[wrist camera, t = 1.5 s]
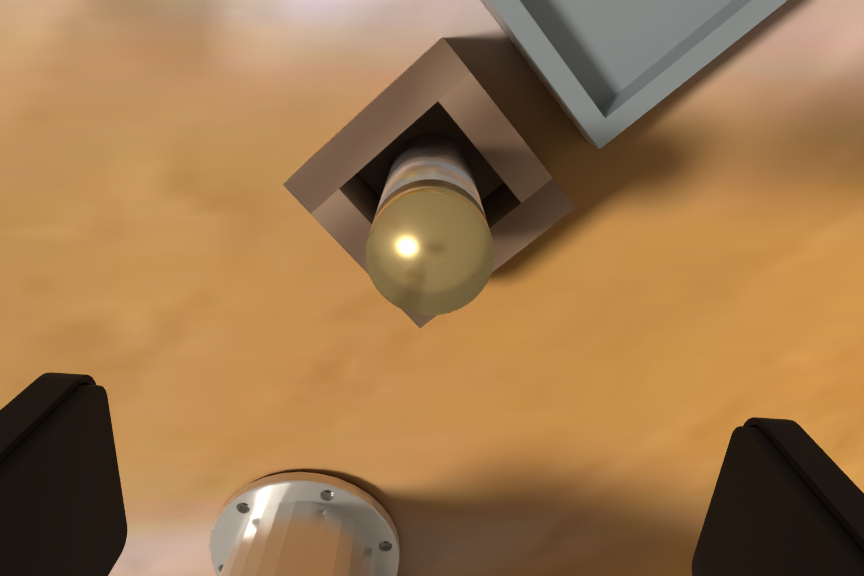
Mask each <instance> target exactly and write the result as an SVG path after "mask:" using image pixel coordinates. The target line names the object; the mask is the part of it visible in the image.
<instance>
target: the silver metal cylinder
mask: <svg viewBox="0 0 864 576" xmlns="http://www.w3.org/2000/svg"><path fill="white" fill-rule="evenodd" d="M366 264H367V269H368V272H369V275H370V278H371V280H372V282H373V284H374V285H375V287H376V288H377V290H378V291H379V292H380V293H381V294H382V296H384V297H385V298H386V299H387V300H388V301H389V302H391V303H392V304H393V305H395V306H397V307H399V308H401V309H403V310H405V311H408V312H411V313H415V314H420V315H441V314H445V313H450V312H452V311H455V310H458V309H459V308H461V307H463V306H465V305H467V304H468V303H470V302H471V301H472V300H473V299H474V298H476V297H477V296H478V294H479V293H480V292H481V291H482V290H483V288H484V287H485V285H486V284H487V282H488V280H489V278H490V275H491V272H492V269H493V264H494V244H493V240H492V236H491V233H490V229H489V226H488V223H487V220H486V216H485V213H484V210H483V207H482V203H481V200H480V197H479V193H478V190H477V187H476V184H475V180H474V177H473V174H472V171H471V167H470V164H469V161H468V158H467V156H466V154H465V152H464V150H463V149H462V148H461V146H460V145H459V144H458V143H457V142H455V141H454V140H453V139H451V138H450V137H447V136H445V135H442V134H438V133H423V134H419V135H416V136H414V137H412V138H410V139H409V140H407V141H406V142H405V143H404V144H403V145H402V146H401V147H400V148H399V150H398V151H397V153H396V155H395V157H394V160H393V163H392V166H391V169H390V172H389V175H388V178H387V181H386V184H385V187H384V190H383V193H382V196H381V199H380V202H379V205H378V208H377V211H376V214H375V217H374V221H373V224H372V227H371V230H370V233H369V236H368V240H367V244H366Z"/></svg>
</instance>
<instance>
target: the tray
mask: <svg viewBox="0 0 864 576" xmlns="http://www.w3.org/2000/svg"><path fill="white" fill-rule="evenodd" d="M481 1H482V3H483V4H484V5H485V7H486V8H487V9H488V11H489V12H490V13H491V15H492V16H493V18H494V19H495V20H496V22H497V23H498V24H499V26H500V27H501V28H502V30H503V31H504V32H505V34H506V35H507V36H508V38H509V39H510V40H511V42H512V43H513V44H514V46H515V47H516V48H517V50H518V51H519V52H520V54H521V55H522V56H523V58H524V59H525V60H526V62H527V63H528V65H529V66H530V67H531V69H532V70H533V71H534V73H535V74H536V75H537V77H538V78H539V79H540V81H541V82H542V83H543V85H544V86H545V87H546V89H547V90H548V91H549V93H550V94H551V95H552V97H553V98H554V99H555V101H556V102H557V103H558V105H559V106H560V107H561V109H562V110H563V111H564V113H565V114H566V116H567V117H568V118H569V120H570V121H571V122H572V124H573V125H574V126H575V128H576V129H577V130H578V132H579V133H580V134H581V136H582V137H583V138H584V140H586V141H587V142H589V143H590V144H592V145H593V146H595V147H596V148H598V149H601V148H602V147H603V146H605V145H606V144H607V143H608V142H610V141H611V140H612V139H614V138H615V137H616V136H617V135H619V134H620V133H621V132H622V131H624V130H625V129H626V128H627V127H629V126H630V125H631V124H632V123H634V122H635V121H636V120H637V119H639V118H640V117H641V116H642V115H644V114H645V113H646V112H648V111H649V110H650V109H651V108H653V107H654V106H655V105H656V104H658V103H659V102H660V101H661V100H663V99H664V98H665V97H666V96H668V95H669V94H670V93H671V92H673V91H674V90H675V89H677V88H678V87H679V86H680V85H682V84H683V83H684V82H685V81H687V80H688V79H689V78H690V77H692V76H693V75H694V74H695V73H697V72H698V71H699V70H700V69H702V68H703V67H704V66H705V65H707V64H708V63H709V62H711V61H712V60H713V59H714V58H716V57H717V56H718V55H719V54H721V53H722V52H723V51H724V50H726V49H727V48H728V47H729V46H731V45H732V44H733V43H734V42H736V41H737V40H738V39H740V38H741V37H742V36H743V35H745V34H746V33H747V32H748V31H750V30H751V29H752V28H753V27H755V26H756V25H757V24H758V23H760V22H761V21H762V20H763V19H765V18H766V17H767V16H769V15H770V14H771V13H772V12H774V11H775V10H776V9H777V8H779V7H780V6H781V5H782V4H784V3H785V2H786V1H787V0H481Z"/></svg>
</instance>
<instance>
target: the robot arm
mask: <svg viewBox="0 0 864 576" xmlns="http://www.w3.org/2000/svg"><path fill="white" fill-rule="evenodd" d="M126 538H127V522H126V516H125V509H124V503H123V496H122V489H121V483H120V476H119V470H118V463H117V457H116V450H115V444H114V437H113V431H112V424H111V417H110V411H109V404H108V398H107V393H106V390H105V389H104V387H102V386H97V385H96V383H95V381H94V379H93V378H92V377H91V376H89V375H82V374H66V373H45V374H43V375H41V376H40V377H38V378H37V379H36V380H35V381H34V382H33V383H32V384H30V385H29V386H28V387H27V388H26V389H25V390H23V391H22V392H21V393H20V394H19V395H18V396H16V397H15V398H14V399H13V400H12V401H11V402H9V403H8V404H7V405H6V406H5V407H4V408H2V409H1V410H0V576H108V575H109V573H110V571H111V570H112V568H113V566H114V565H115V563H116V561H117V560H118V558H119V556H120V555H121V553H122V551H123V548H124V545H125V542H126ZM209 549H210V558H211V562H212V565H213V568H214V571H215V573H216V575H217V576H396V575H397V571H398V565H399V555H400V543H399V538H398V533H397V530H396V528H395V525H394V523H393V521H392V519H391V517H390V516H389V515H388V513H387V512H386V511H385V509H384V508H383V507H382V505H381V504H380V503H378V502H377V501H376V500H375V499H374V498H373V497H372V496H371V495H370V494H368V493H367V492H365V491H363V490H362V489H360V488H358V487H357V486H355V485H353V484H351V483H348V482H346V481H344V480H341V479H339V478H336V477H332V476H327V475H323V474H319V473H308V472H292V473H280V474H276V475H272V476H268V477H264V478H262V479H259V480H257V481H255V482H252V483H250V484H248V485H246V486H245V487H244V488H242V489H241V490H239V491H238V492H236V493H235V494H234V495H233V496H232V497H231V498H230V499H229V500H228V501H227V502H226V503H225V505H224V506H223V508H222V510H221V512H220V513H219V515H218V517H217V519H216V522H215V524H214V527H213V529H212V531H211V537H210V544H209ZM692 576H864V493H863V492H862V491H861V490H860V489H859V488H858V487H857V486H856V485H855V484H854V483H853V482H852V481H851V480H850V479H849V477H848V476H847V475H846V474H845V473H844V472H843V471H842V470H841V469H840V468H839V467H838V466H837V465H836V464H835V463H834V462H833V461H832V459H831V458H830V457H829V456H828V455H827V454H826V453H825V452H824V451H823V450H822V449H821V448H820V447H819V446H818V445H817V444H816V443H815V441H814V440H813V439H812V438H811V437H810V436H809V435H808V434H807V433H806V432H805V431H804V430H803V429H802V428H801V427H800V426H799V425H798V424H797V423H796V422H794V421H792V420H785V419H770V418H754V417H753V418H750V419H748V420H747V421H746V422H745V423H744V426H740V427H737V428H736V429H735V430H734V431H733V433H732V436H731V439H730V442H729V445H728V448H727V452H726V455H725V458H724V461H723V464H722V468H721V471H720V474H719V477H718V480H717V483H716V487H715V490H714V493H713V496H712V499H711V502H710V506H709V509H708V512H707V515H706V518H705V522H704V525H703V528H702V531H701V534H700V537H699V541H698V544H697V547H696V550H695V553H694V557H693V561H692Z"/></svg>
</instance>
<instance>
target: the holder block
mask: <svg viewBox="0 0 864 576" xmlns="http://www.w3.org/2000/svg"><path fill="white" fill-rule="evenodd" d="M423 133H438V134H442V135H445V136H447V137H450V138H451V139H453V140H454V141H455V142H457V143H458V144H459V145H460V146H461V148H462V149H463V150H464V152H465V154H466V156H467V158H468V161H469V164H470V167H471V171H472V174H473V177H474V180H475V184H476V187H477V190H478V193H479V197H480V200H481V203H482V207H483V210H484V213H485V216H486V220H487V223H488V226H489V229H490V233H491V236H492V240H493V244H494V264H493V269H492V272H493V271H495V270H496V269H497V268H499V267H500V266H501V265H502V264H504V263H505V262H506V261H508V260H509V259H510V258H512V257H513V256H514V255H515V254H517V253H518V252H519V251H521V250H522V249H523V248H524V247H526V246H527V245H528V244H530V243H531V242H532V241H533V240H535V239H536V238H537V237H539V236H540V235H541V234H543V233H544V232H545V231H546V230H548V229H549V228H550V227H552V226H553V225H554V224H555V223H557V222H558V221H559V220H561V219H562V218H563V217H564V216H566V215H567V214H568V213H570V212H571V211H572V210H574V209H575V208H576V206H575V205H574V204H573V203H572V201H571V200H570V199H569V198H568V196H567V195H566V194H565V192H564V191H563V190H562V189H561V187H560V186H559V185H558V183H557V182H556V181H555V180H554V178H553V177H552V176H551V174H550V173H549V172H548V171H547V169H546V168H545V167H544V166H543V164H542V163H541V162H540V160H539V159H538V158H537V157H536V155H535V154H534V153H533V151H532V150H531V149H530V148H529V146H528V145H527V144H526V143H525V141H524V140H523V139H522V137H521V136H520V135H519V134H518V132H517V131H516V130H515V128H514V127H513V126H512V125H511V123H510V122H509V121H508V120H507V118H506V117H505V116H504V114H503V113H502V112H501V111H500V109H499V108H498V107H497V105H496V104H495V103H494V102H493V100H492V99H491V98H490V96H489V95H488V94H487V93H486V91H485V90H484V89H483V88H482V86H481V85H480V84H479V82H478V81H477V80H476V79H475V77H474V76H473V75H472V73H471V72H470V71H469V70H468V68H467V67H466V66H465V65H464V63H463V62H462V61H461V59H460V58H459V57H458V56H457V54H456V53H455V52H454V50H453V49H452V48H451V47H450V45H449V44H448V43H447V42H446V40H445V39H444V38H441V39H440V40H439V41H437V42H436V43H435V44H434V45H433V46H432V47H431V48H430V49H429V50H428V51H427V52H426V53H424V54H423V55H422V56H421V57H420V58H419V59H418V60H417V61H416V62H415V63H414V64H412V65H411V66H410V67H409V68H408V69H407V70H406V71H405V72H404V73H403V74H402V75H400V76H399V77H398V78H397V79H396V80H395V81H394V82H393V83H392V84H391V85H390V86H388V87H387V88H386V89H385V90H384V91H383V92H382V93H381V94H380V95H379V96H378V97H377V98H375V99H374V100H373V101H372V102H371V103H370V104H369V105H368V106H367V107H366V108H365V109H363V110H362V111H361V112H360V113H359V114H358V115H357V116H356V117H355V118H354V119H353V120H351V121H350V122H349V123H348V124H347V125H346V126H345V127H344V128H343V129H342V130H341V131H339V132H338V133H337V134H336V135H335V136H334V137H333V138H332V139H331V140H330V141H329V142H327V143H326V144H325V145H324V146H323V147H322V148H321V149H320V150H319V151H318V152H317V153H316V154H314V155H313V156H312V157H311V158H310V159H309V160H308V161H307V162H306V163H305V164H304V165H303V166H302V167H301V168H300V169H299V170H297V171H296V172H295V173H294V174H293V175H292V176H291V177H290V178H289V179H288V180H287V181H286V182H285V183H284V184H283V185H284V186H285V187H286V188H287V189H288V191H289V192H290V193H291V194H292V195H293V196H294V197H295V198H296V199H297V200H298V201H299V202H300V203H301V204H302V205H303V206H304V207H305V208H306V209H307V210H308V211H309V213H310V214H311V215H312V216H313V217H314V218H315V219H316V220H317V221H318V222H319V223H320V224H321V225H322V226H323V227H324V228H325V229H326V230H327V231H328V232H329V233H330V235H331V236H332V237H333V238H334V239H335V240H336V241H337V242H338V243H339V244H340V245H341V246H342V247H343V248H344V249H345V250H346V251H347V252H348V253H349V254H350V255H351V257H352V258H353V259H354V260H355V261H356V262H357V263H358V264H359V265H360V266H361V267H362V268H363V269H364V270H365V271H366V272H367V273H368V274H369V272H368V269H367V264H366V244H367V240H368V236H369V233H370V230H371V227H372V224H373V221H374V217H375V214H376V211H377V208H378V205H379V202H380V199H381V196H382V193H383V190H384V187H385V184H386V181H387V178H388V175H389V172H390V169H391V166H392V163H393V160H394V157H395V155H396V153H397V151H398V150H399V148H400V147H401V146H402V145H403V144H404V143H405V142H406V141H407V140H409V139H410V138H412V137H414V136H416V135H419V134H423ZM492 272H491V273H492ZM402 310H403V309H402ZM403 311H404V312H405V313H406V314H407V315H408V316H409V317H410V318H411V319H412V320H413V321H414V323H415V324H416V325H417V326H418V327H419V328H421V327H422V326H424V325H425V324H426V323H428V322H429V321H430V320H431V319H433V318H434V317H435V316H437V315H420V314H415V313H411V312H408V311H405V310H403Z"/></svg>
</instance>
